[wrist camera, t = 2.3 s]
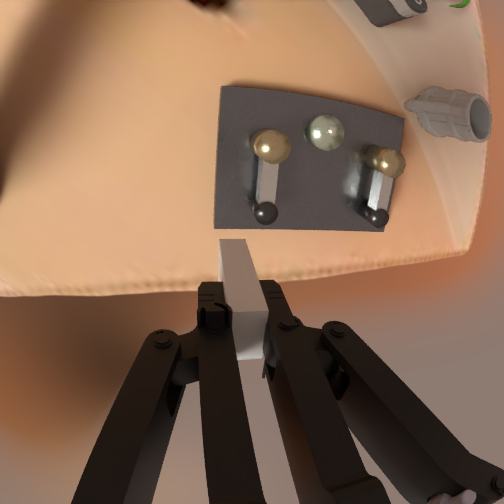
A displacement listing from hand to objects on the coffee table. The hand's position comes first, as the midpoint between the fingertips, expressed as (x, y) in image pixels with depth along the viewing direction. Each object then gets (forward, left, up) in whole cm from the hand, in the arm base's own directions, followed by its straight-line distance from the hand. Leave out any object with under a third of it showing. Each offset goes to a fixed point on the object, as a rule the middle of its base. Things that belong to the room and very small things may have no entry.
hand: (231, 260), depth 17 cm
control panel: (+11, +4, -18) cm, 21 cm away
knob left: (+5, +6, -16) cm, 17 cm away
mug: (+28, +14, -18) cm, 36 cm away
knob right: (+19, +6, -16) cm, 25 cm away
